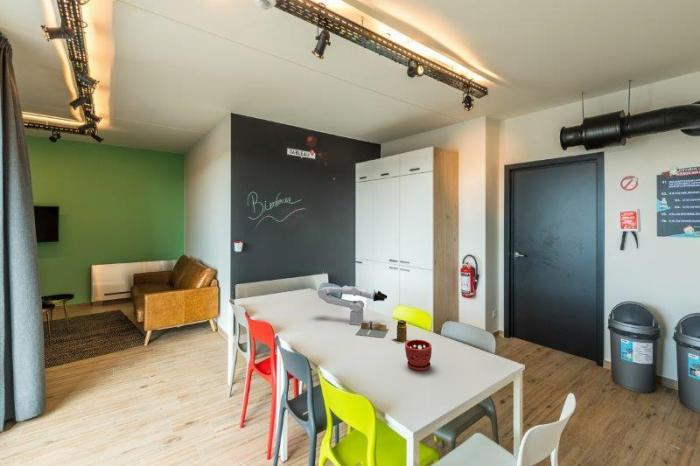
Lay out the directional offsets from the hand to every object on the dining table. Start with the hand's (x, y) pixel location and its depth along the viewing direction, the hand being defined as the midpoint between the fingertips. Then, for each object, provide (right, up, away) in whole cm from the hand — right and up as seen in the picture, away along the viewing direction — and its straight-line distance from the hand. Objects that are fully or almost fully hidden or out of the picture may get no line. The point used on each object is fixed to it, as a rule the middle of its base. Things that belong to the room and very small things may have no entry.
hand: (385, 298), depth 225 cm
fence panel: (-5, -20, -8) cm, 22 cm away
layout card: (-10, -21, -11) cm, 25 cm away
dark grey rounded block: (-14, -20, -5) cm, 25 cm away
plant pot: (+10, -23, -61) cm, 66 cm away
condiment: (+6, -21, -25) cm, 34 cm away
